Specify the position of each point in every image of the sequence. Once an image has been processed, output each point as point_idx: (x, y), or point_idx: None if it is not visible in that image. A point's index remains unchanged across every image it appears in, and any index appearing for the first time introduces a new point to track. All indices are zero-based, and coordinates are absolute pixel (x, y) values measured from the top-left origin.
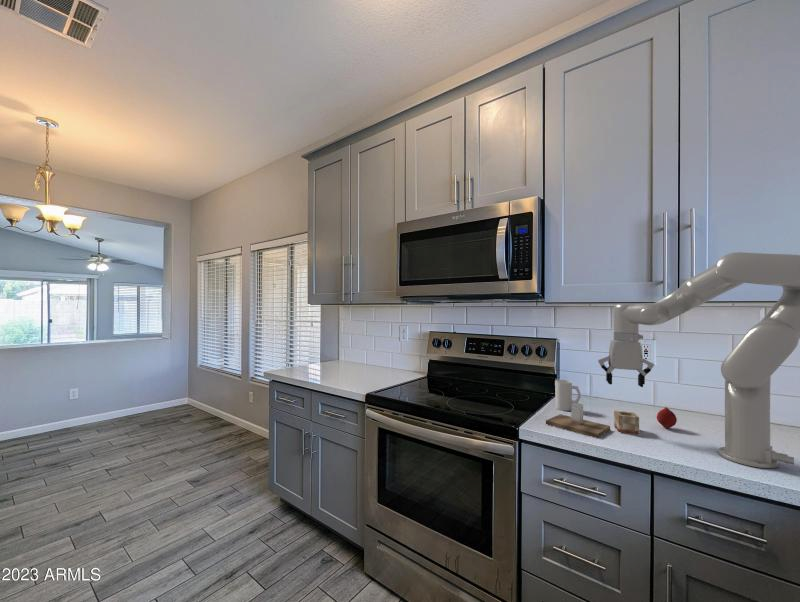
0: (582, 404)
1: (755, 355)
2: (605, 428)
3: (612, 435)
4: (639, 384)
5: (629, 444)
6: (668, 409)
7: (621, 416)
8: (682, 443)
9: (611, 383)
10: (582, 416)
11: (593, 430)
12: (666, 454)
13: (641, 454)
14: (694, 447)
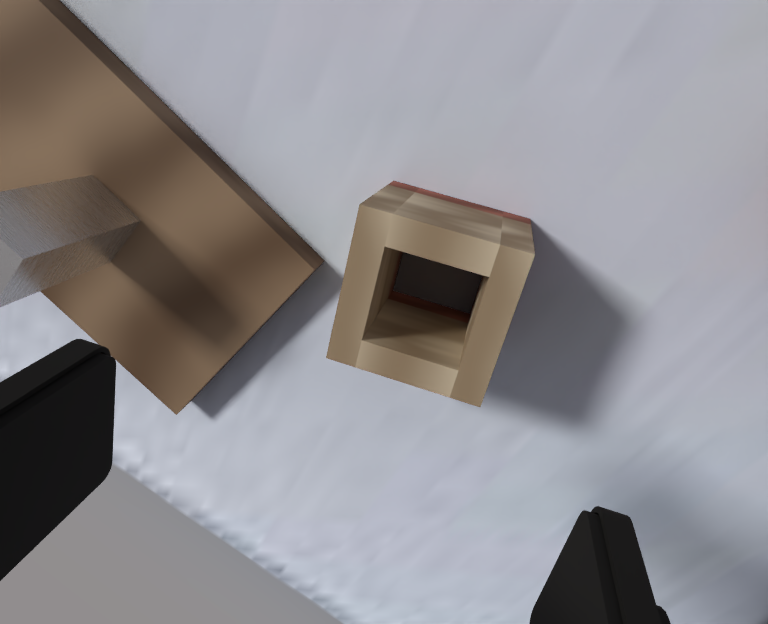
0: (15, 267)
1: None
2: (259, 323)
3: (296, 357)
4: (554, 593)
5: (327, 483)
6: None
7: (347, 362)
8: (679, 487)
9: (92, 482)
10: (96, 242)
11: (169, 361)
12: (444, 597)
13: (321, 585)
14: (700, 542)
